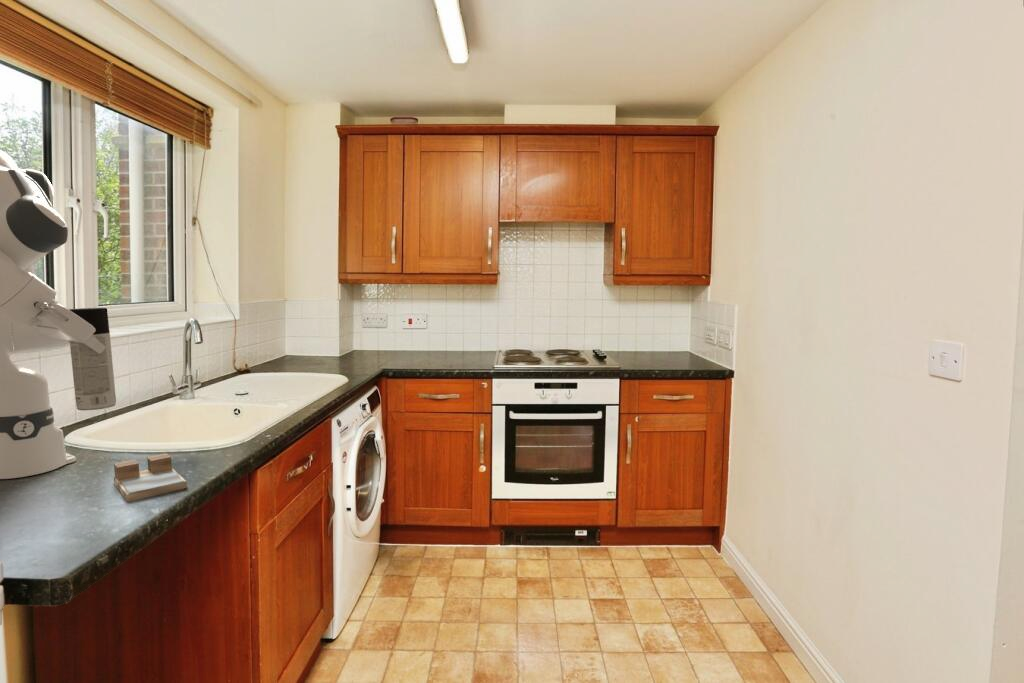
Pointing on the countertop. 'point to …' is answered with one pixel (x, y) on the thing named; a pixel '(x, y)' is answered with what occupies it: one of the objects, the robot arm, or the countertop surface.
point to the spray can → (93, 364)
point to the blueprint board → (147, 478)
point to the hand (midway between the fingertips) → (94, 348)
